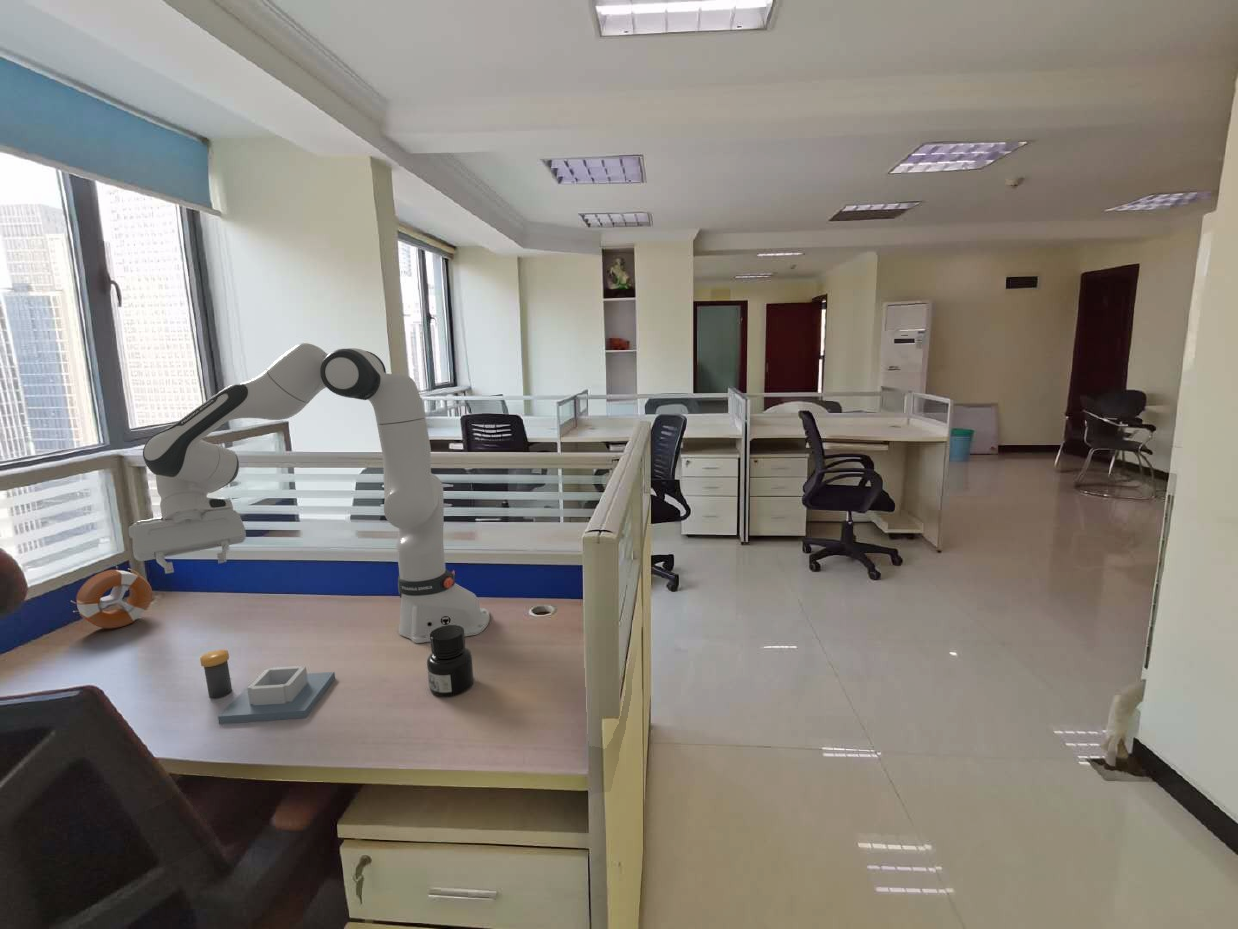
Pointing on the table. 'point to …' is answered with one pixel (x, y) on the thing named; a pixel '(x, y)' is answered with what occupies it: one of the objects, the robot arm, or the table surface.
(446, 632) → the ink bottle
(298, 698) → the mount
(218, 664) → the knob
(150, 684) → the table surface
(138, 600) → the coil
